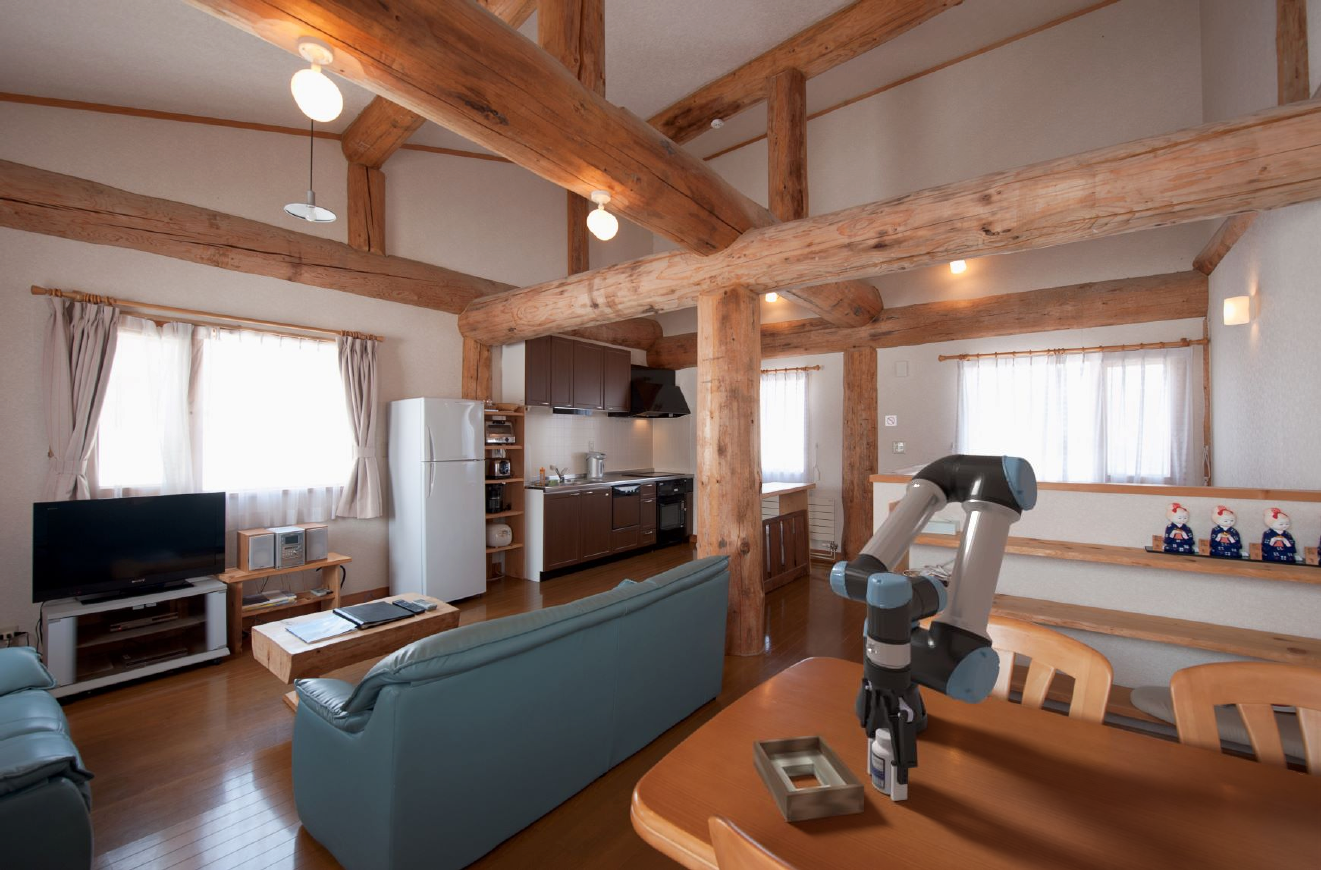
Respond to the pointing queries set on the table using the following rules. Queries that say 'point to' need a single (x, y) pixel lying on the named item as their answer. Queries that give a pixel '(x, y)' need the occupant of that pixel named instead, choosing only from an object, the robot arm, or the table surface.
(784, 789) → the box
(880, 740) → the pill bottle
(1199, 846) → the table surface
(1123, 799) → the table surface
